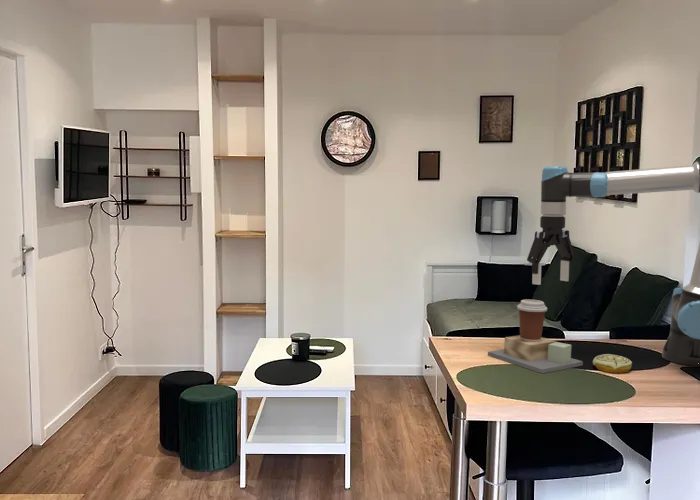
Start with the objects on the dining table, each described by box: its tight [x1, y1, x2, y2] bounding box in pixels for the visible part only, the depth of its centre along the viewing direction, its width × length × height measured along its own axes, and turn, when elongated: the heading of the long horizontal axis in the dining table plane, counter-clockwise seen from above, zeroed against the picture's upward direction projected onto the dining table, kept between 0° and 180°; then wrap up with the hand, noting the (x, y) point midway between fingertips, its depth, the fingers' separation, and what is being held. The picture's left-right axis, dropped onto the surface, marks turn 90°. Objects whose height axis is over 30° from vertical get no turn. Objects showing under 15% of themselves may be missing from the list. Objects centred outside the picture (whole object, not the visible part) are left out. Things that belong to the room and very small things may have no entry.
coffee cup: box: [516, 298, 548, 342], centre depth 204 cm, size 9×9×12 cm
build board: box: [487, 348, 584, 374], centre depth 204 cm, size 22×18×1 cm
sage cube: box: [548, 341, 572, 364], centre depth 199 cm, size 5×5×5 cm
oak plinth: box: [503, 334, 557, 361], centre depth 205 cm, size 11×11×5 cm
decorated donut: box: [592, 353, 633, 374], centre depth 196 cm, size 10×11×4 cm
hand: (550, 282), depth 209 cm, fingers open, 13 cm apart
